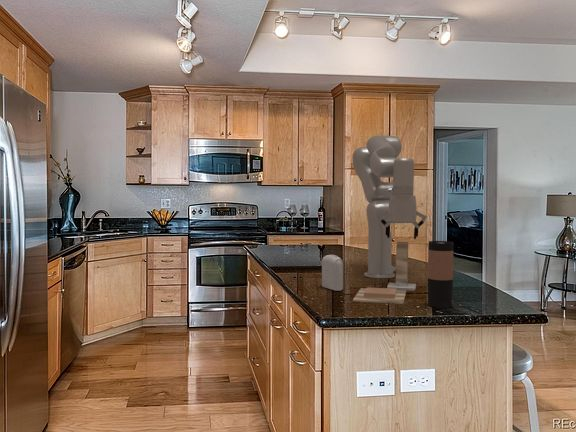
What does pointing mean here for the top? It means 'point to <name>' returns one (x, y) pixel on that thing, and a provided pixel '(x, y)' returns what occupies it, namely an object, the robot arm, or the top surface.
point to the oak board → (398, 298)
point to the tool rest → (409, 287)
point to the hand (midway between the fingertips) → (401, 238)
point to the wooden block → (402, 264)
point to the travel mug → (440, 274)
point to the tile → (380, 293)
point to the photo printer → (332, 272)
